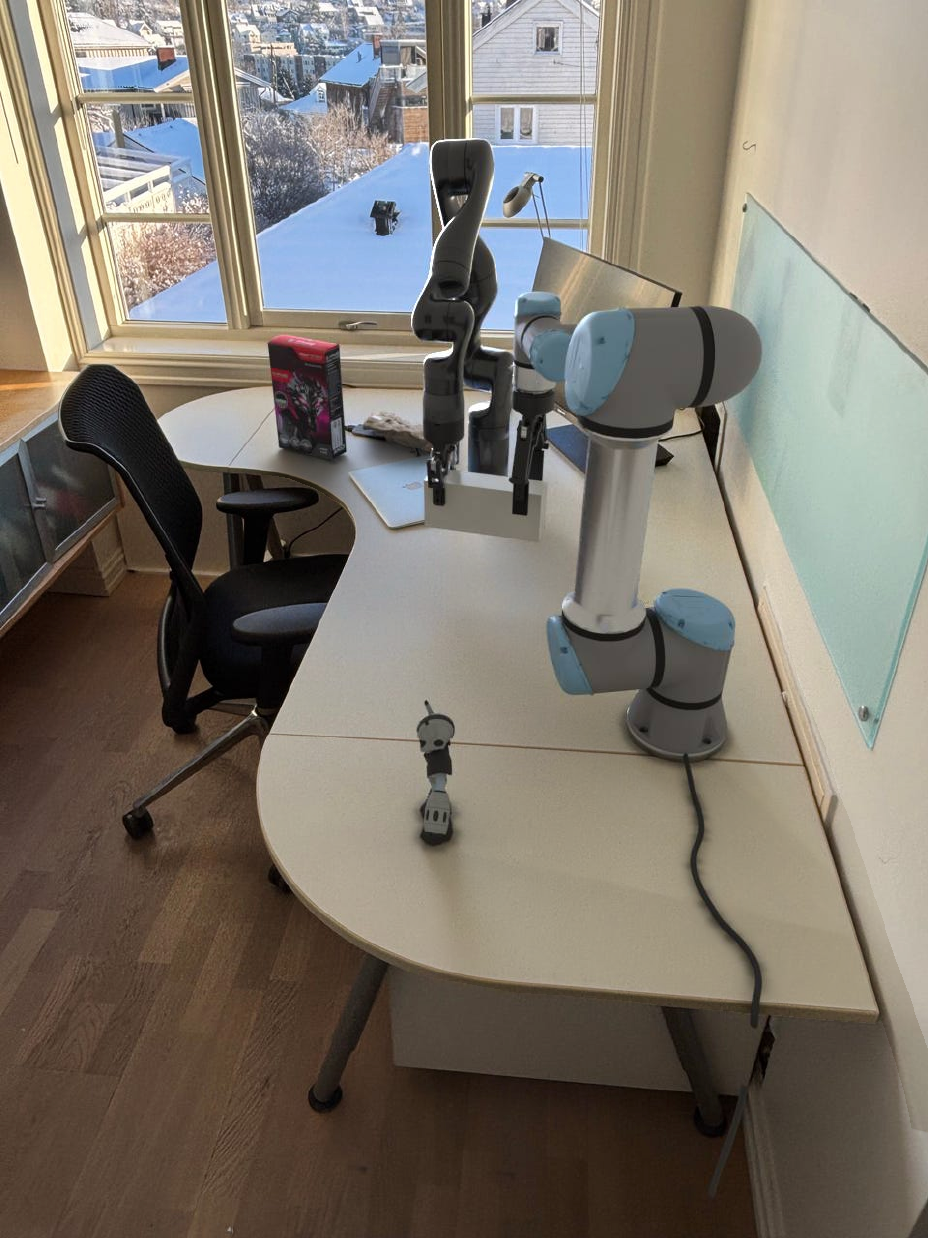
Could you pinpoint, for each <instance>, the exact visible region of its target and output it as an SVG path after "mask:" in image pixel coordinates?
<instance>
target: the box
mask: <svg viewBox="0 0 928 1238" xmlns="http://www.w3.org/2000/svg"><path fill="white" fill-rule="evenodd" d="M442 471H445V469H442ZM511 477H512V476H508V477H506V476H497V475H489V474H481V473H473V472H468V471H464V470H457V469H456V470H450V472H449V475H448V476H447V477H446V486H445V504H444V506H438V505H434V504H433V488H428V476H427V475H426V477H425V478H424V479H423V503H424V504H423V505H424V506H423V507H424V509H423V510H424V527H426V528H432V529H439V530H447V531H453V532H455V531H456V532H459V533H460V532H462V533H467V534H475V535H482V536H489V537H498V538H505V539H511V540H512V539H513V540H520V541H525V542H526V541H527V542H534V543H539V542H540V540H541V537H542V536H543V533H544V531H545V529H546V518H547V517H546V515H547V499H548V483H549V481H546V480H545V481H544V480H543V481H538V480H530V479H528V481H529V498H528V514H527V516H523V515H516V514H512V503H513V484H512V483H511V482H509V478H511ZM436 481H438V479H436Z"/></svg>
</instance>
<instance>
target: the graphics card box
mask: <svg viewBox="0 0 928 1238" xmlns="http://www.w3.org/2000/svg"><path fill="white" fill-rule="evenodd" d="M340 347H341V346H340V343H335V342H333V343H332V342H328V341H322V340H317V339H311V338H306V337H300V336H295V335H289V334H285V333H282V334H279V335H277V336H274V337H273V338H271V339H270V340H268V341H267V351H268V359H269V367H270V369H269V370H270V377H271V378H270V379H271V385H272V386H271V387H272V395H273V403H274V412H275V413H274V414H275V423H276V433H277V441H278V442H277V443H278V448H279V449H283V450H287V451H288V450H289V451H292V452H297V453H301V454H305V455H309V456H314V457H317V458H322V459H326V460H330V461H333V460H335V459H337V458H339V457H340V456H342V455H344V454H345V453H347V451H348V449H347V447H348V446H347V434H346V420H345V407H344V406H345V405H344V393H343V380H342V364H341V363H342V362H341V349H340Z"/></svg>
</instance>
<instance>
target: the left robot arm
mask: <svg viewBox="0 0 928 1238" xmlns="http://www.w3.org/2000/svg"><path fill="white" fill-rule="evenodd" d="M429 165H430V174H431V175H430V176H431V181H432V186H433V190H434V191H433V192H434V195H435V200H436V205H437V208H438V213H439V217H440V222H441V225H442V226H441V227H442V230H441V232H440V233H439V235H438V237H437V238H436V240H435V243H434V246H433V250H432V255H431V262H430V270H429V274H428V279H427V280H426V283H425V285H424V288H423V289H422V292H420V295H419V297H418V299H417V301H416V303H415V305H414V308H413V311H412V314H411V319H410V320H411V329H412V333H413V334H414V336H415V338H417V339H418V340H419V341H421V342H426V343H442V344H444V343H445V344H452V346H451V348H450V349H448V350H445V351H440V352H435V353H431V354H429V355H427V356H426V357H425V359H424V360H423V366H422V367H423V368H422V369H423V371H422V372H423V394H422V425H423V437H424V439H425V440H426V441H428V442H430V443H431V444H432V445H433V449H431V452H430V457H429V458H430V459H429V458H428V459H426V477H427V476H428V488H433V504H434V505H438V506H444V504H445V486H446V477H447V476H448V475H449V472H450V470H457V466H458V465H459V464H460V443H461V441H463V439H464V437H465V394H464V386H465V387H467V388H469V389H471V390H475V391H480V392H484V393H490V400H485V401H480V402H477V403H474V404H473V405H471V406H470V407H469V409H468V412H467V472H473V473H481V474H489V475H497V476H506V477H509V463H510V461H509V460H510V436H511V435H510V433H511V432H510V430H511V415H512V410H513V408H512V406H511V397H512V388H513V387H514V385H513V383H512V380H513V371H510V366H511V365H513V353H512V352H511V351H510V350H508V349H503V348H498V347H497V348H496V347H491V346H486V345H483V342H482V334H481V333H482V332H481V331H482V330H481V329H482V326H483V323H484V321H485V319H486V317H487V315H488V314H489V312H490V311H491V308H493V305H494V303H495V302H496V298H497V296H498V292H499V286H498V285H499V284H498V278H497V277H498V275H497V266H496V260H495V257H494V254H493V252H492V251H491V249H490V247H489V246H488V244H487V243H486V242H485V241H484V239H483V238H482V236H480V235H479V232H480V229H481V226H482V223H483V220H484V216H485V214H486V210H487V207H488V204H489V200H490V197H491V193H492V189H493V185H494V179H495V171H496V170H495V169H496V168H495V153H494V151H493V147H492V145H491V143H490V141H489V140H487V139H485V138H460V139H459V138H458V139H444V140H438V141H436V142H435V143H434V144H433V145H432V146H431V149H430V155H429ZM459 197H466V199H465V200H464V202H463V204H462V206H461V203H460V201H459ZM442 469H445V471H442ZM436 479H438V481H436Z"/></svg>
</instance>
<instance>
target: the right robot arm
mask: <svg viewBox="0 0 928 1238" xmlns="http://www.w3.org/2000/svg"><path fill="white" fill-rule="evenodd" d="M561 303H562V301H561V299H560V297H559V296H558V295H557V294H554V293H552V292H546V291H527V292H524V293H522V294H520V295H519V296H517V298H516V299H515V309H514V315H513V320H514V322H513V323H514V326H513V327H514V328H513V353H512V354H513V365H511V366H510V371H513V380H512V383H513V385H514V387H513V388H512V397H511V406H512V410H513V411H514V412H516V413H518V414H521V419H519V421H518V425H517V427H516V440H515V448H514V454H513V455H514V456H513V463H512V470H511V476H510V477H511V478H509V482H511V483H512V484H513V503H512V514H516V515H523V516H527V514H528V498H529V481H528V479H530V480H538V481H544V464H545V450H549V448H550V443H548V442H547V441H548V428H547V427H548V426H547V414H548V413H551V412H552V411H553V410H554V409H555V400H556V389H555V387H556V386H557V383H564V382H565V384H564V396H565V401H566V405H567V406H568V410H570V411H571V412H572V413H573V414H575V415H577V417H576V419H577V424H578V426H579V427H580V428H581V429H582V430H583V432H584V433H586V434H587V448H586V459H585V469H584V470H585V471H584V481H583V492H582V501H581V502H582V503H581V513H580V514H581V515H580V524H579V525H580V526H579V538H578V548H577V549H578V550H577V557H576V568H575V569H576V570H575V571H576V573H575V581H574V582H575V583H574V590H573V591H571V592H570V593H568V594H567V595H566V596H565V597H564V599H563V601H562V605H561V615H560V614H554V615H552V616H550V617H548V619H547V621H546V639H547V646H548V654H549V657H550V661H551V665H552V670H553V673H554V676H555V678H556V682H557V683H558V685H559V687H560V689H561V690H562V691H563V692H564V693H565V694H567V695H570V696H584V695H585V696H588V695H589V696H591V697H592V696H595V695H596V694H607V693H616V692H625V691H637V690H638V691H637V692H636V694H635V695H634V697H633V699H632V701H631V702H630V704H629V706H628V708H627V711H626V719H625V728H626V732H627V734H628V736H629V738H630V739H631V741H632V742H634V744H636V745H637V746H638V747H639V748H640V749H641V750H643V751H645V752H646V753H648V754H650V755H651V756H654V757H656V758H659V759H662V760H666V761H670V762H675V763H684V767H685V768H684V769H685V772H686V777H687V778H686V779H687V782H688V787H689V791H690V795H691V799H692V802H693V806H694V808H695V813H696V816H697V826H698V827H697V828H698V829H697V833H696V838H695V841H694V843H693V845H692V849H691V853H690V862H689V863H690V870H691V875H692V879H693V882H694V885H695V887H696V889H697V892H698V893H699V895H700V897H701V899H702V900H703V902H704V904H705V905H706V907H707V909H708V910H709V912H710V914H711V915H712V917H713V918H714V920H715V921H716V922H717V924H718V925H719V926H720V927H721V928H722V929H723V931H725V932H726V934H728V936H729V937H731V939H732V940H733V941H734V942H735V943H736V944H737V945H738V946H739V947H740V949H742V951H743V952H744V953H745V955H746V957H747V958H748V961H749V962H750V965H751V967H752V970H753V975H754V986H753V993H752V999H751V1007H750V1019H749V1020H750V1022H749V1023H750V1027H751V1028H752V1029H754V1030H756V1029H758V1027H759V1009H760V1002H761V996H762V988H763V978H762V971H761V968H760V965H759V962H758V960H757V958H756V957H757V956H756V955H755V953H754V952H753V950H752V949H751V947H750V946H749V945H748V944H747V943H746V941H745V940H744V939H743V938H742V937H741V935H739V934H738V932H737V931H736V930H734V929H733V928H732V927H731V926H730V925H729V924H728V923H727V922H726V920H725V919H724V918H723V917H722V915H721V914H720V912H719V911H718V909H717V908H716V906H715V905H714V903H713V901H712V900H711V897H709V895H708V893H707V891H706V889H705V887H704V885H703V882H702V881H701V878H700V875H699V871H698V863H697V859H698V853H699V850H700V847H701V845H702V842H703V839H704V834H705V819H704V813H703V810H702V807H701V804H700V800H699V797H698V793H697V789H696V786H695V781H694V776H693V772H692V771H693V770H692V766H691V763H694V762H700V761H703V760H706V759H709V758H711V757H714V755H716V754H718V752H720V751H721V750H722V748H723V747H724V744H725V743H726V740H727V739H726V738H727V734H728V721H727V716H726V712H725V708H724V707H725V706H724V701H723V692H724V686H725V682H726V678H727V674H728V673H727V672H728V668H729V664H730V659H731V654H732V651H733V650H732V649H733V648H734V646H735V634H736V618H735V617H734V614H733V612H732V611H731V609H730V608H729V607H728V606H727V605H726V604H725V603H723V602H722V601H721V600H719V599H717V598H716V597H715V596H712V595H710V594H707V593H705V592H702V591H699V590H694V589H689V588H670V589H665V590H663V591H662V592H661V593H659V594H658V595H657V597H656V599H654V602H653V606H651V607H650V606H649V607H646V606H645V604H644V602H643V601H642V600H641V599H640V598H639V597H638V594H639V586H640V579H641V573H642V572H641V571H642V565H643V556H644V548H645V542H646V533H647V527H648V519H649V512H650V504H651V498H652V490H653V482H654V475H655V466H656V460H657V452H658V445H659V441H660V440H661V439H663V438H664V437H665V436H667V435H668V434H669V433H671V431H672V430H673V427H674V422H675V414H676V411H677V410H679V409H690V408H691V409H693V408H703V407H709V406H714V405H718V404H720V403H723V402H726V401H728V400H730V399H733V398H734V397H735V396H737V395H738V394H740V393H742V391H744V390H745V389H746V388H747V387H748V386H749V385H750V384H751V382H752V381H753V380H754V379H755V377H756V375H757V373H758V370H759V368H760V365H761V362H762V356H763V348H762V346H763V345H762V341H761V337H760V334H759V333H758V331H757V328H756V327H755V325H754V324H753V323H752V322H751V321H750V320H749V318H747V317H745V316H744V315H742V314H741V313H739V312H738V311H735V310H733V309H729V308H726V307H721V306H715V305H695V306H694V305H693V306H677V307H676V306H672V307H671V306H670V307H632V308H630V307H629V308H628V307H625V306H623V307H617V308H616V309H608V310H598V311H593V312H589V314H587V315H585V316H584V317H583V318H582V319H581V320H580V322H578V323H564V324H563V323H562V322H561V316H562V304H561ZM748 1092H749V1086H747V1085H744V1084H741V1085H740V1089H739V1094H738V1099H737V1102H736V1106H735V1110H734V1113H733V1117H732V1120H731V1124H730V1127H729V1129H728V1132H727V1136H726V1138H725V1141H724V1144H723V1148H722V1149H721V1153H720V1156H719V1158H718V1162H717V1164H716V1167H715V1170H714V1173H713V1176H712V1179H711V1183H710V1186H709V1189H708V1192H707V1194H708V1196H709V1197H710V1198H714V1197H715V1195H716V1192H717V1188H718V1185H719V1181H720V1178H721V1176H722V1172H723V1170H724V1167H725V1164H726V1161H727V1159H728V1156H729V1154H730V1151H731V1148H732V1145H733V1143H734V1139H735V1137H736V1134H737V1131H738V1128H739V1125H740V1121H741V1119H742V1116H743V1111H744V1108H745V1104H746V1100H747V1095H748Z"/></svg>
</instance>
